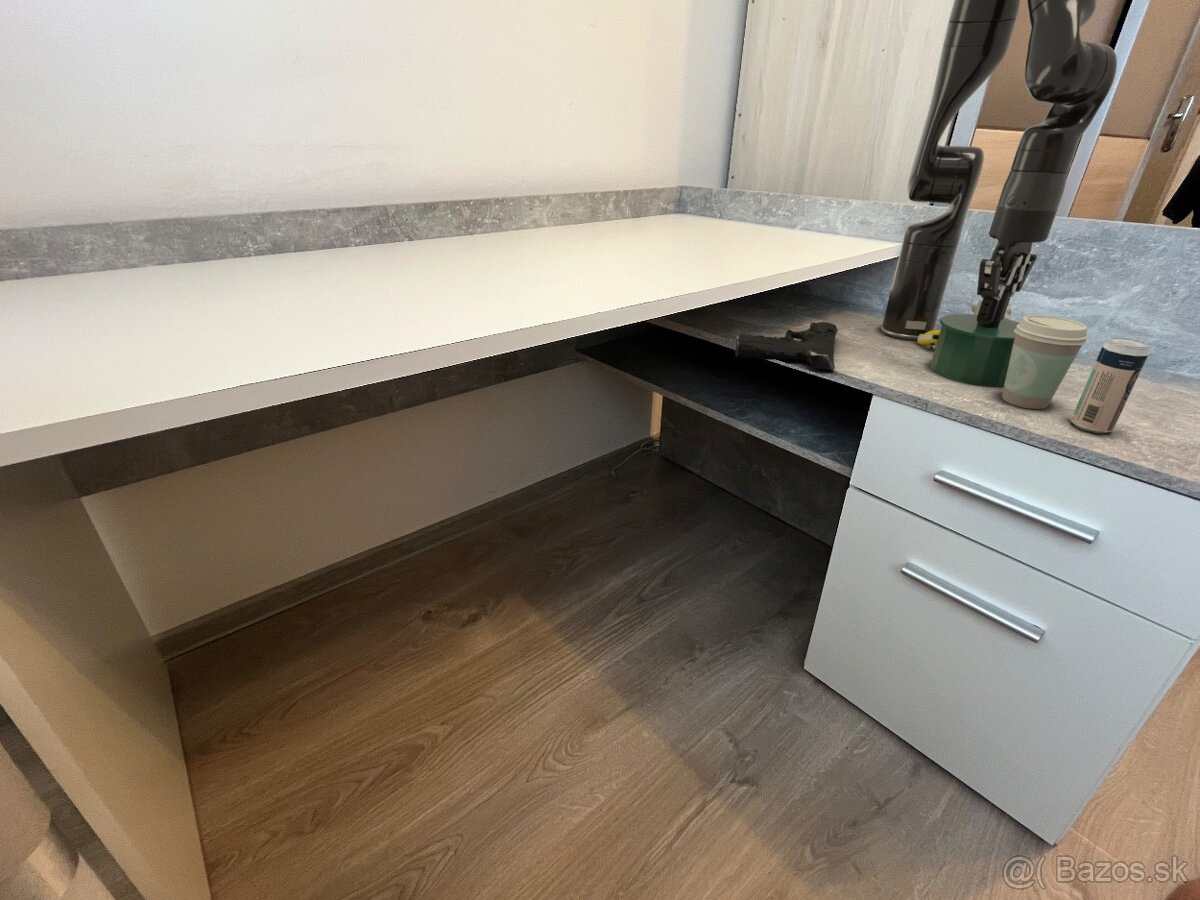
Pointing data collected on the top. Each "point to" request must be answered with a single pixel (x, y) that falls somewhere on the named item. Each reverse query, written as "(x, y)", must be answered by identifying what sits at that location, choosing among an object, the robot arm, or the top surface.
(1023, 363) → the coffee cup
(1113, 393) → the beer can
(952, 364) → the pot
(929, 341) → the yellow curved piece
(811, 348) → the handgun
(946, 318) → the lid
